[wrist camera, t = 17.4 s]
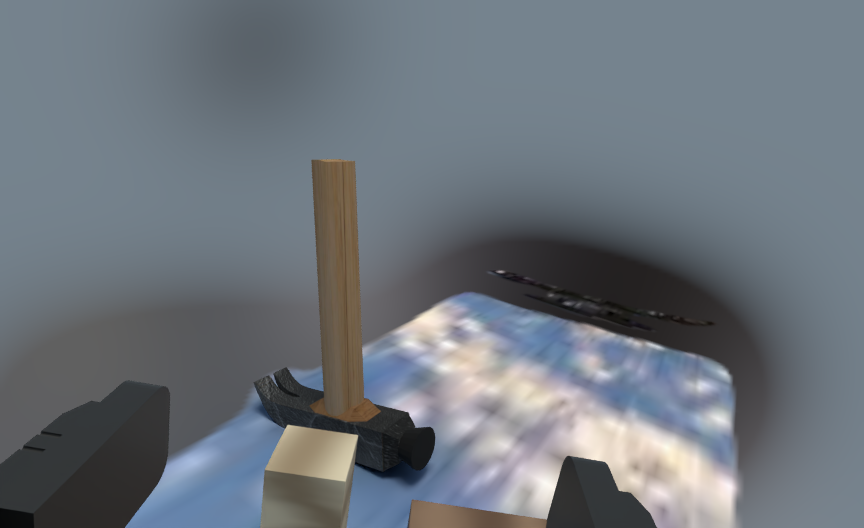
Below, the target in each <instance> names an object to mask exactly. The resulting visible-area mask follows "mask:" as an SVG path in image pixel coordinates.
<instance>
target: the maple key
mask: <svg viewBox="0 0 864 528" xmlns="http://www.w3.org/2000/svg"><path fill="white" fill-rule="evenodd" d="M357 441H358V435H353V434H347V433H340V432H333V431H326V430H320V429H313V428H306V427H299V426H292V425H287V427H286V429H285V431H284V433H283V435H282V437H281V439H280V441H279V443H278V445H277V447H276V449H275V450H274V452H273V454H272V456H271V458H270V460H269V462H268V464H267V466H266V468H265V473H264V486H263V500H262V513H261V526H260V528H346V526H347V518H348V511H349V503H350V495H351V487H352V480H353V472H354V464H355V456H356V449H357Z"/></svg>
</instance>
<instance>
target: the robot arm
mask: <svg viewBox="0 0 864 528" xmlns="http://www.w3.org/2000/svg"><path fill="white" fill-rule="evenodd" d="M169 410H170V393H169V390H168V388H167V387H164V386H158V385H153V384H146V383H141V382H134V381H125V382H123V383H122V384H121V385H119V386H118V387H117V388H116V389H115V390H114V391H113V392H112V393H110V394H109V395H108V396H107V397H106V398H104V399H103V400H102V401H101V402H94V401H90V402H88V403H86V404H84V405H81V406H79V407H77V408H75V409H72V410H70V411H68V412H66V413H64V414H62V415H61V416H59V417H58V418H57V419H56V420H54V421H53V422H52V423H51V424H50V425H48V426H47V427H46V428H45V429H43V430H42V431H41V434H40V435H36V436H35V437H34V438H32V439H31V440H30V441H29V442H27V443H26V444H25V445H24V447H23V449H22V450H20V449H19V450H18V451H16V452H15V453H14V454H13V455H11V456H10V457H9V458H8V459H6V460H5V461H4V462H3V463H1V464H0V528H125V527H126V525H127V524H128V523H129V521H130V520H131V519H132V517H133V516H134V515H135V513H136V512H137V511H138V509H139V508H140V507H141V506H142V504H143V503H144V502H145V500H146V499H147V498H148V496H149V495H150V494H151V492H152V491H153V490H154V488H155V487H156V486H157V484H158V482H159V481H160V479H161V477H162V474H163V472H164V469H165V466H166V462H167V457H168V441H169V413H170V411H169ZM546 528H657V527H656V525H655V523H654V521H653V518H652V516H651V514H650V513H649V512H648V511H647V510H646V509H645V508H644V507H643V505H642V504H641V503H640V502H639V501H638V500H637V499H636V498H635V497H634V496H633V495H632V494H631V493H628V492H622V491H619V490H618V488H617V486H616V483H615V481H614V479H613V476H612V474H611V471H610V469H609V467H608V465H607V464H606V463H605V462H602V461H596V460H590V459H584V458H578V457H572V456H567V457H566V458H565V460H564V462H563V465H562V468H561V471H560V475H559V479H558V482H557V486H556V489H555V493H554V496H553V500H552V504H551V507H550V511H549V514H548V518H547V523H546Z"/></svg>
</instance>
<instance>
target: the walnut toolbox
mask: <svg viewBox="0 0 864 528" xmlns="http://www.w3.org/2000/svg"><path fill="white" fill-rule="evenodd" d="M546 523H547V520H545V519H538V518H532V517H525V516H518V515H512V514H505V513H498V512H492V511H485V510H478V509H472V508H465V507H458V506H452V505H445V504H438V503H432V502H425V501H418V500H412V503H411V509H410V515H409V521H408V527H407V528H546Z"/></svg>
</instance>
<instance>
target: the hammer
mask: <svg viewBox="0 0 864 528" xmlns="http://www.w3.org/2000/svg"><path fill="white" fill-rule="evenodd" d="M312 178H313V198H314V216H315V233H316V234H315V235H316V254H317V272H318V292H319V309H320V310H319V311H320V330H321V349H322V368H323V387H324V392H323V391H319V390H315V389H311V388H307V387H305V386H302V385H301V384H299V383H298V382H297V381H296V380H295V379H294V378H293V376H292V375H291V373H290V372H289V370H288V369H287V368H284V369H282V370H279V371H277V372H275V373H273V374H274V377H275V380H276V383H277V385H278V387H279V388H278V387H277V386H276V384H275V383H274V382H273V380H272V378H271V377H270V376H266V377H264V378H262V379H260V380H258V381H256V382H254V385H255V388H256V390H257V392H258V394H259V397H260V399H261V401H262V404H263V405H264V407H265V409H266V411H267V412H268V414H269V415H270V416H271V418H272V419H273V420H274V421H275V422H276V423H277V424H278V425H279V426H281V427H283V428H285V429H286V427H287V425H292V426H299V427H306V428H313V429H320V430H326V431H333V432H340V433H347V434H353V435H358V441H357V449H356V456H355V462H356V463H359V464H362V465H365V466H368V467H371V468H374V469H377V470H380V471H382V472H384V471H385V470H387V469H389V468H391V467H393V466H395V465H397V464H399V463H400V462H402V461H404V462H405V463H407V464H408V465H409V466H411V467H412V468H413V469H415V470H417V471H418V470H421V469H423V468H424V467H425V466H426V465H427V463H428V462H429V460H430V458H431V456H432V453H433V450H434V445H435V433H434V430H433V429H432V428H431V427H422V428H415V425H414V423H413V421H412V419H411V418H410V416H409V413H408V412H404V411H400V410H396V409H392V408H388V407H384V406H380V405H376V404H373V403H372V402H371V401H370V400H369V399H366V398H364V384H363V358H362V333H361V307H360V306H361V305H360V282H359V281H360V280H359V256H358V255H359V254H358V229H357V228H358V227H357V202H356V175H355V161H345V160H341V159H338V160H337V159H331V160H312Z"/></svg>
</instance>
